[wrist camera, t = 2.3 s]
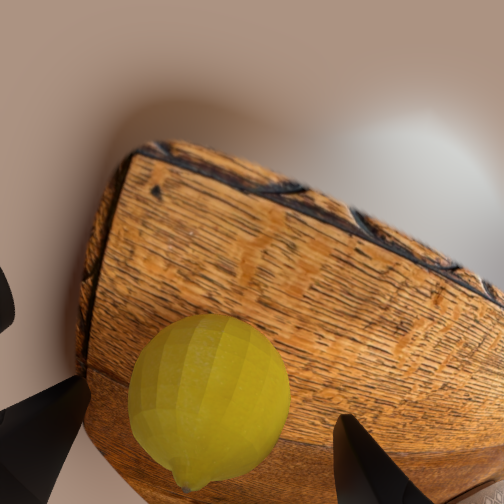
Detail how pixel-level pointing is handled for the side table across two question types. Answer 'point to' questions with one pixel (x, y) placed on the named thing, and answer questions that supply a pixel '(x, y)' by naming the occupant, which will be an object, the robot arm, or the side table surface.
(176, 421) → the fruit
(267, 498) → the side table surface
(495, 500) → the planter
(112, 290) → the side table surface
